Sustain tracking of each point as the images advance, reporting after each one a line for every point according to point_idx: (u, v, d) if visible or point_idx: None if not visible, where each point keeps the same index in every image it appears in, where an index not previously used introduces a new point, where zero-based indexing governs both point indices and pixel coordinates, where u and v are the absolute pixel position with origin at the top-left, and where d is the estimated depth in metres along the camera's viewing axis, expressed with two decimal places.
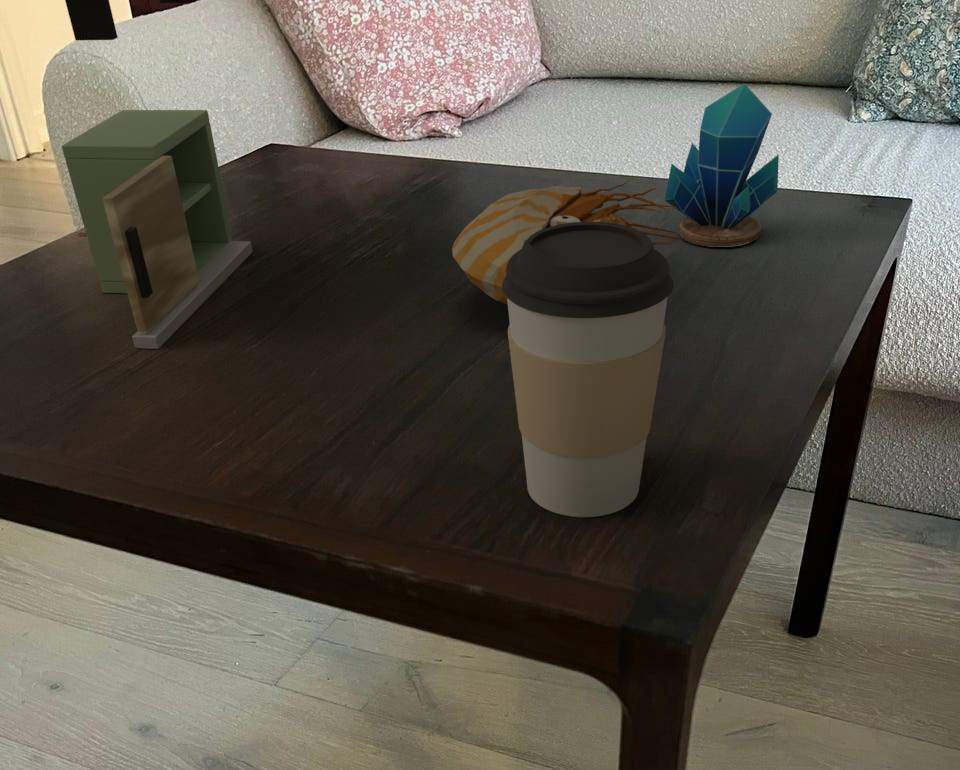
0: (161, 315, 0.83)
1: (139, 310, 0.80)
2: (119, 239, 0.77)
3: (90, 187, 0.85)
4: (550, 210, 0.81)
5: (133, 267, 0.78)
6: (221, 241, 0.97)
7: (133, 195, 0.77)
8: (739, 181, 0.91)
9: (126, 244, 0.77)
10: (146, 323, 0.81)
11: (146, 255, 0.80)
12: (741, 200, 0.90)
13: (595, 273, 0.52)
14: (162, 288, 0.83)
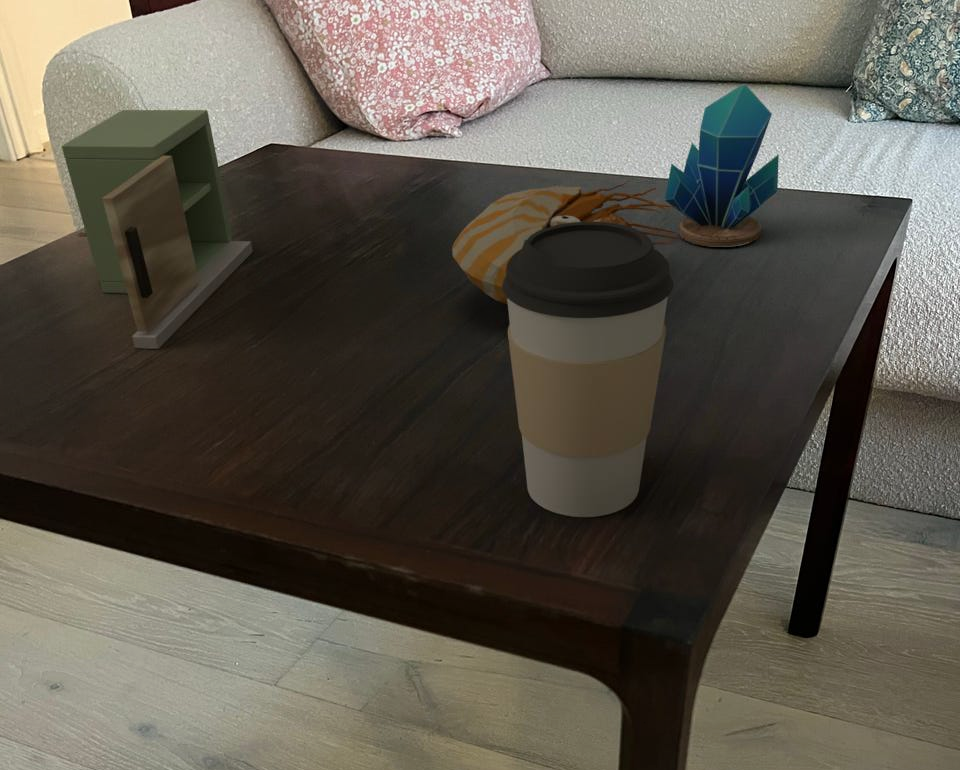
0: (161, 315, 0.83)
1: (139, 310, 0.80)
2: (119, 239, 0.77)
3: (90, 187, 0.85)
4: (550, 210, 0.81)
5: (133, 267, 0.78)
6: (221, 241, 0.97)
7: (133, 195, 0.77)
8: (739, 181, 0.91)
9: (126, 244, 0.77)
10: (146, 323, 0.81)
11: (146, 255, 0.80)
12: (741, 200, 0.90)
13: (595, 273, 0.52)
14: (162, 288, 0.83)
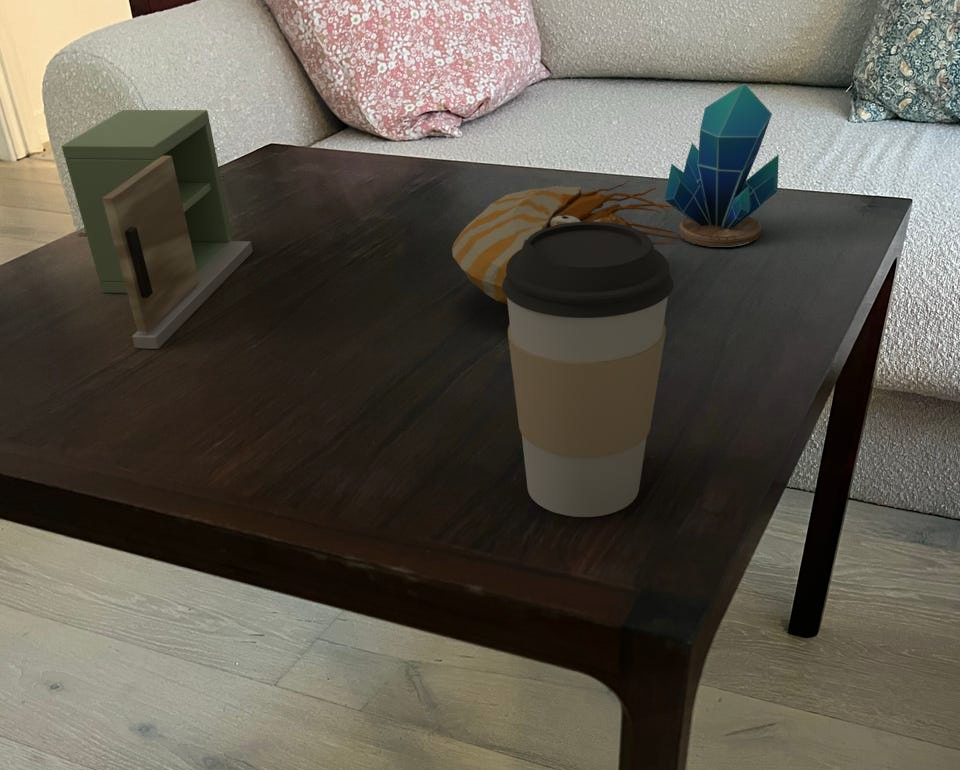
0: (161, 315, 0.83)
1: (139, 310, 0.80)
2: (119, 239, 0.77)
3: (90, 187, 0.85)
4: (550, 210, 0.81)
5: (133, 267, 0.78)
6: (221, 241, 0.97)
7: (133, 195, 0.77)
8: (739, 181, 0.91)
9: (126, 244, 0.77)
10: (146, 323, 0.81)
11: (146, 255, 0.80)
12: (741, 200, 0.90)
13: (595, 273, 0.52)
14: (162, 288, 0.83)
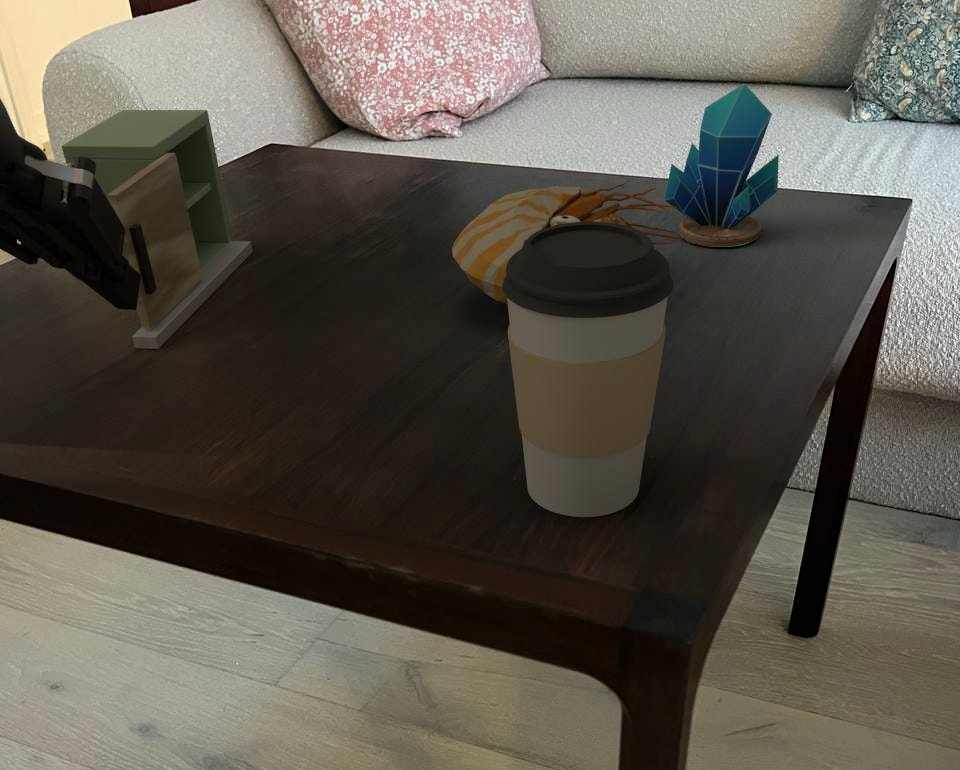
0: (165, 311, 0.84)
1: (143, 307, 0.81)
2: None
3: None
4: (550, 210, 0.81)
5: (137, 264, 0.79)
6: (221, 241, 0.97)
7: (137, 192, 0.78)
8: (739, 181, 0.91)
9: (130, 241, 0.78)
10: (150, 319, 0.81)
11: (150, 252, 0.81)
12: (741, 200, 0.90)
13: (595, 273, 0.52)
14: (166, 285, 0.83)
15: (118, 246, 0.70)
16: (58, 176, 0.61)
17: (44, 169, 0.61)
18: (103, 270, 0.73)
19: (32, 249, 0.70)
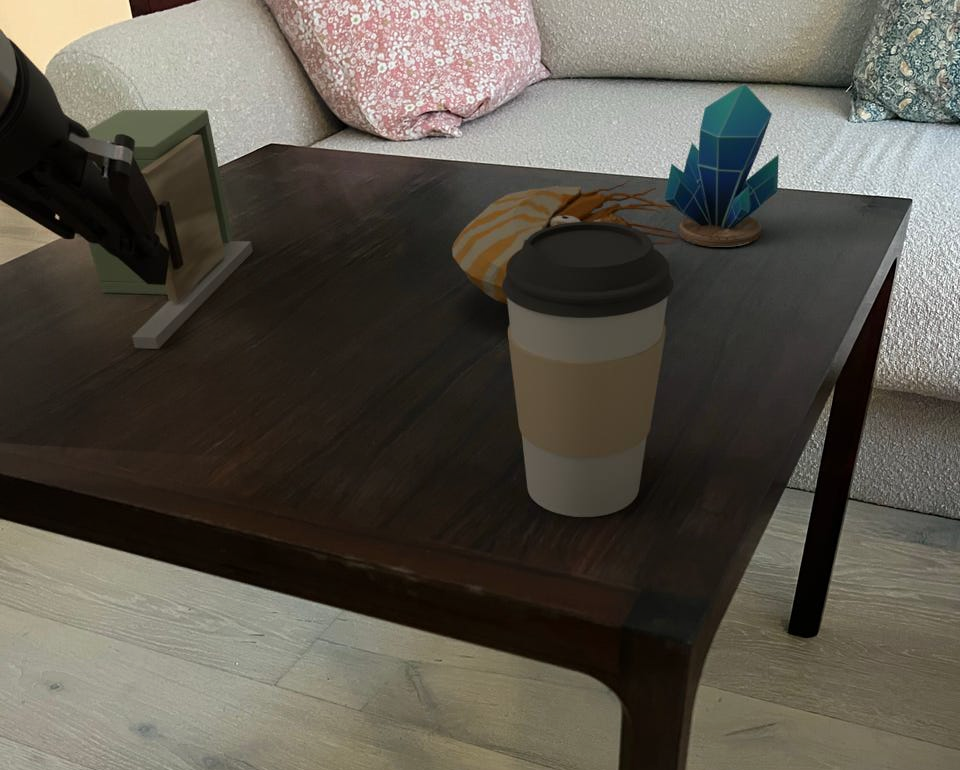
0: (190, 286, 0.87)
1: (171, 281, 0.84)
2: None
3: None
4: (550, 210, 0.81)
5: (165, 239, 0.83)
6: None
7: (166, 171, 0.82)
8: (739, 181, 0.91)
9: (160, 217, 0.81)
10: (177, 293, 0.85)
11: (177, 229, 0.84)
12: (741, 200, 0.90)
13: (595, 273, 0.52)
14: (191, 261, 0.87)
15: (152, 221, 0.74)
16: (100, 152, 0.65)
17: (87, 146, 0.65)
18: (136, 245, 0.77)
19: (70, 224, 0.73)
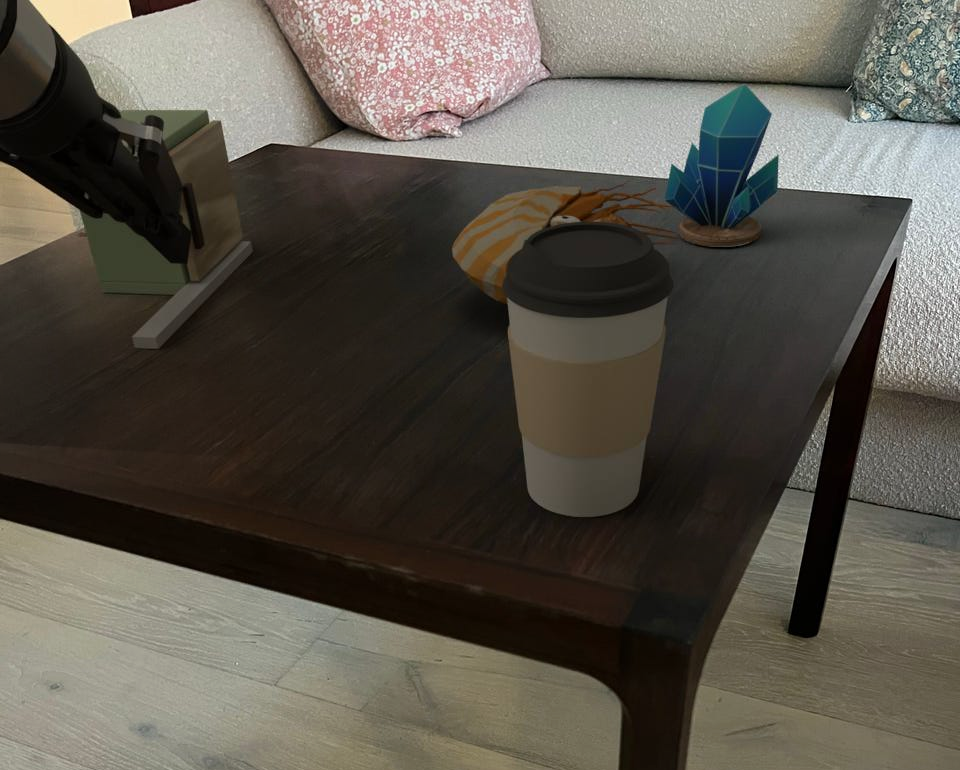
0: (211, 266, 0.91)
1: (193, 260, 0.88)
2: None
3: None
4: (550, 210, 0.81)
5: (188, 220, 0.86)
6: None
7: (189, 154, 0.85)
8: (739, 181, 0.91)
9: (183, 198, 0.85)
10: (198, 273, 0.89)
11: (199, 210, 0.88)
12: (741, 200, 0.90)
13: (595, 273, 0.52)
14: (212, 242, 0.91)
15: (177, 201, 0.77)
16: (131, 132, 0.68)
17: (119, 126, 0.68)
18: (161, 224, 0.80)
19: (99, 203, 0.77)
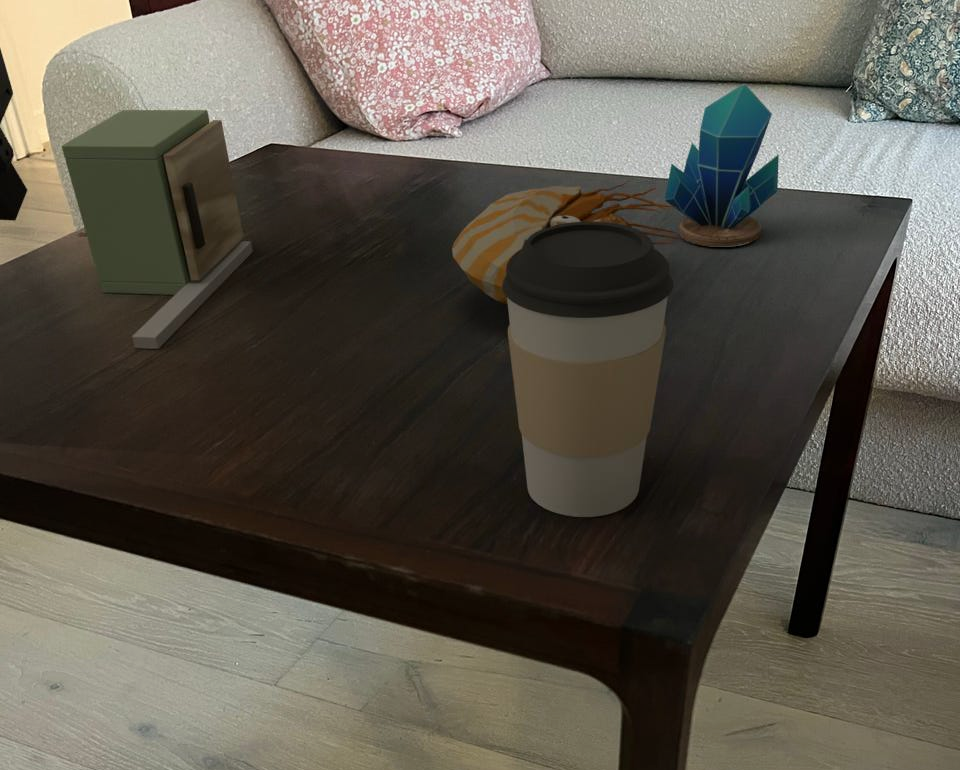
0: (211, 266, 0.91)
1: (193, 260, 0.88)
2: (177, 193, 0.84)
3: (90, 187, 0.85)
4: (550, 210, 0.81)
5: (188, 220, 0.86)
6: None
7: (189, 154, 0.85)
8: (739, 181, 0.91)
9: (183, 198, 0.85)
10: (199, 272, 0.89)
11: (199, 210, 0.88)
12: (741, 200, 0.90)
13: (595, 273, 0.52)
14: (212, 241, 0.91)
15: (0, 98, 0.61)
16: None
17: None
18: None
19: None
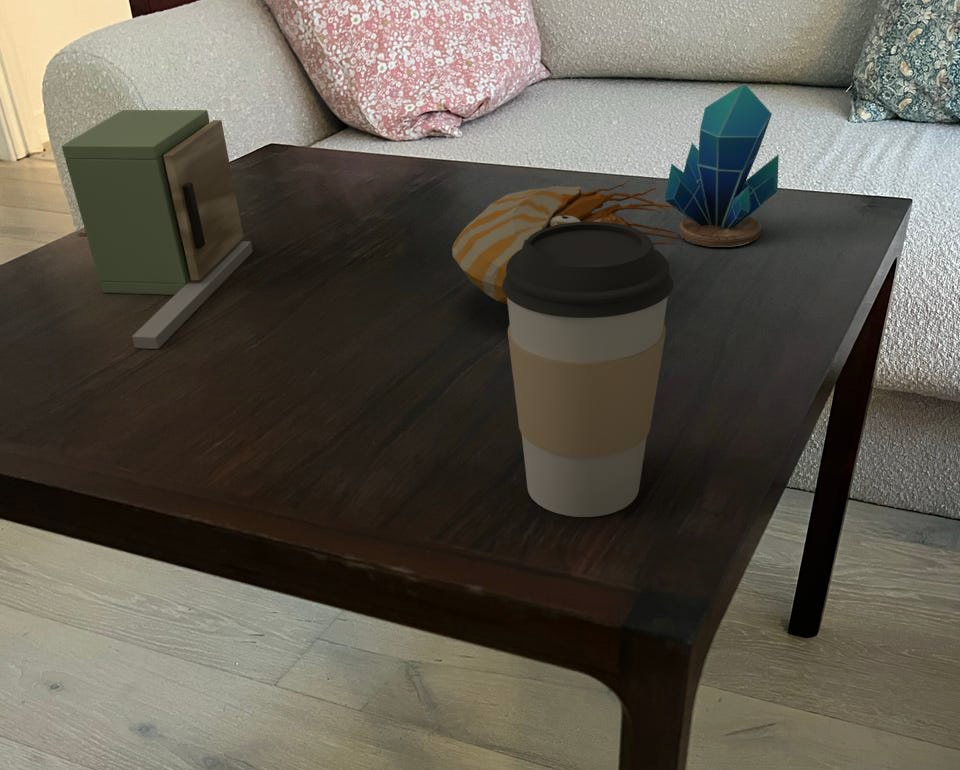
0: (211, 266, 0.91)
1: (193, 260, 0.88)
2: (177, 193, 0.84)
3: (90, 187, 0.85)
4: (550, 210, 0.81)
5: (188, 220, 0.86)
6: None
7: (189, 154, 0.85)
8: (739, 181, 0.91)
9: (183, 198, 0.85)
10: (199, 272, 0.89)
11: (199, 210, 0.88)
12: (741, 200, 0.90)
13: (595, 273, 0.52)
14: (212, 241, 0.91)
15: None
16: None
17: None
18: None
19: None
